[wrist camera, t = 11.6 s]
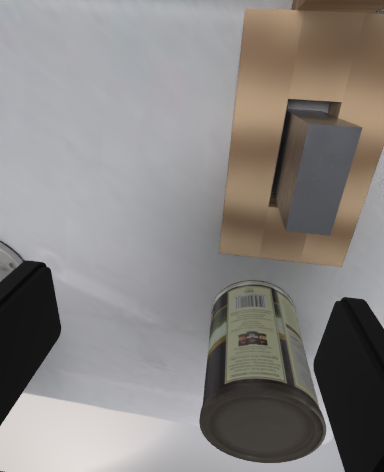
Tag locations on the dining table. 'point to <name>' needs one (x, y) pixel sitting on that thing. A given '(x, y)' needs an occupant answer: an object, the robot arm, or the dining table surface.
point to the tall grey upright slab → (313, 169)
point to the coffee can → (259, 378)
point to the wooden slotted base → (274, 109)
